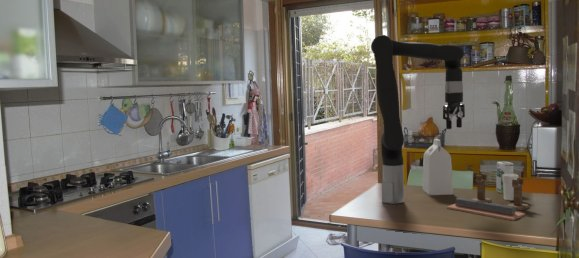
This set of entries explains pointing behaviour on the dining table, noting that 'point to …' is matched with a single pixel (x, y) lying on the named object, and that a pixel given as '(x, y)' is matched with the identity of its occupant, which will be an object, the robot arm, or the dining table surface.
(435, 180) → the milk
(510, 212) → the rail
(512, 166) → the syrup box
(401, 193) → the robot arm
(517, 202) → the stand right
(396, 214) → the dining table surface
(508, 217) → the mat
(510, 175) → the cup
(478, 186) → the stand left
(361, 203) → the dining table surface
